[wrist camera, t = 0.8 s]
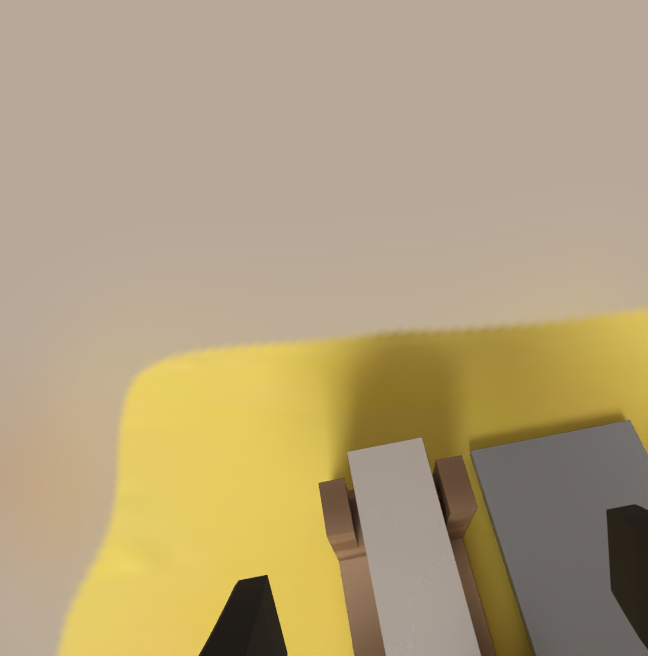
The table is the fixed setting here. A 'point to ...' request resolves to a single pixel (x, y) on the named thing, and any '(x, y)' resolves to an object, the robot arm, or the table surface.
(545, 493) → the mat
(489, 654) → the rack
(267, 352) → the table surface
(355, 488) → the rail
